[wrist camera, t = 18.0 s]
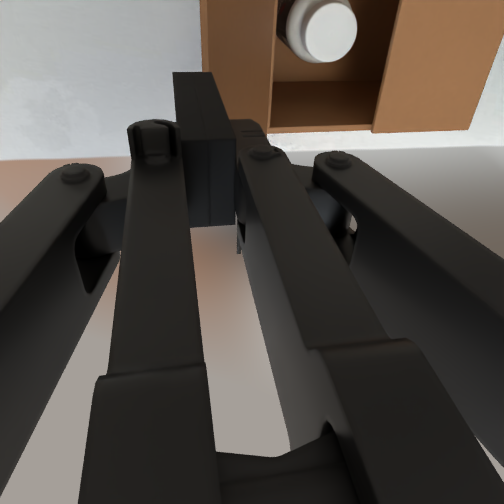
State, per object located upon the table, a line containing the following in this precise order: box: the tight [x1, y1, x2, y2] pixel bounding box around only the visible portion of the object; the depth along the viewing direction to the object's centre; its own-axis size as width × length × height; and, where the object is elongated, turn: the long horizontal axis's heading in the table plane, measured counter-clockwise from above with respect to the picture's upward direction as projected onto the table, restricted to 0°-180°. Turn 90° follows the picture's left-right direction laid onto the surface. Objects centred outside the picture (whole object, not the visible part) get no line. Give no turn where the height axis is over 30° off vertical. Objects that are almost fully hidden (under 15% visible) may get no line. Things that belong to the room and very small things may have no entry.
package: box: [267, 0, 504, 134], centre depth 33 cm, size 17×13×13 cm
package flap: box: [200, 0, 275, 137], centre depth 24 cm, size 8×13×1 cm
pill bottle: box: [276, 0, 357, 63], centre depth 33 cm, size 5×5×10 cm
